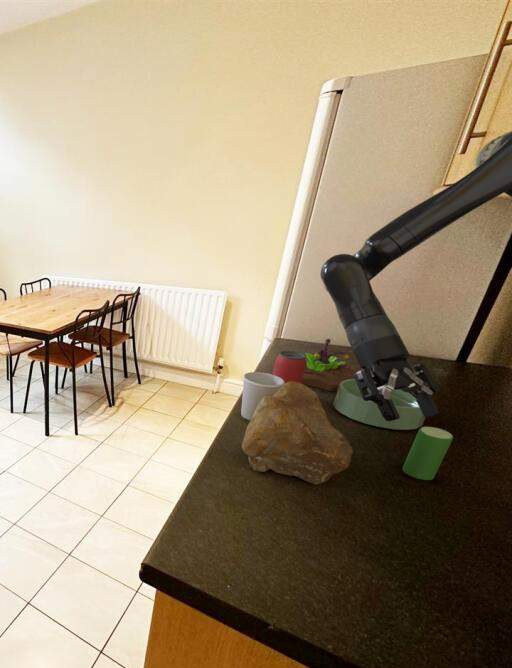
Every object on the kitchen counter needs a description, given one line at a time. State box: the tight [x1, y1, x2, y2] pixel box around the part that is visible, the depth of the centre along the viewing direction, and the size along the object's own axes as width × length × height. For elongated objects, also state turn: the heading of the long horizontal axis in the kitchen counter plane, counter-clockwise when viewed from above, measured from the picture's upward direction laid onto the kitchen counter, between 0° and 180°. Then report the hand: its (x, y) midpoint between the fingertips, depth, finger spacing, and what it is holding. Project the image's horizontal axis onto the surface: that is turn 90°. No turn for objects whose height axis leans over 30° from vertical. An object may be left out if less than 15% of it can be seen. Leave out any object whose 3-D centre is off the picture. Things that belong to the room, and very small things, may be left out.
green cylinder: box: [401, 426, 454, 481], centre depth 76 cm, size 4×4×9 cm
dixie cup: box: [240, 371, 285, 421], centre depth 98 cm, size 8×8×10 cm
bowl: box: [333, 379, 427, 431], centre depth 98 cm, size 16×16×6 cm
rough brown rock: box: [241, 381, 354, 485], centre depth 79 cm, size 23×17×15 cm
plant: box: [301, 338, 359, 393], centre depth 118 cm, size 20×20×11 cm
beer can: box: [271, 350, 307, 387], centre depth 107 cm, size 7×7×12 cm
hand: (413, 418), depth 78 cm, fingers open, 8 cm apart
